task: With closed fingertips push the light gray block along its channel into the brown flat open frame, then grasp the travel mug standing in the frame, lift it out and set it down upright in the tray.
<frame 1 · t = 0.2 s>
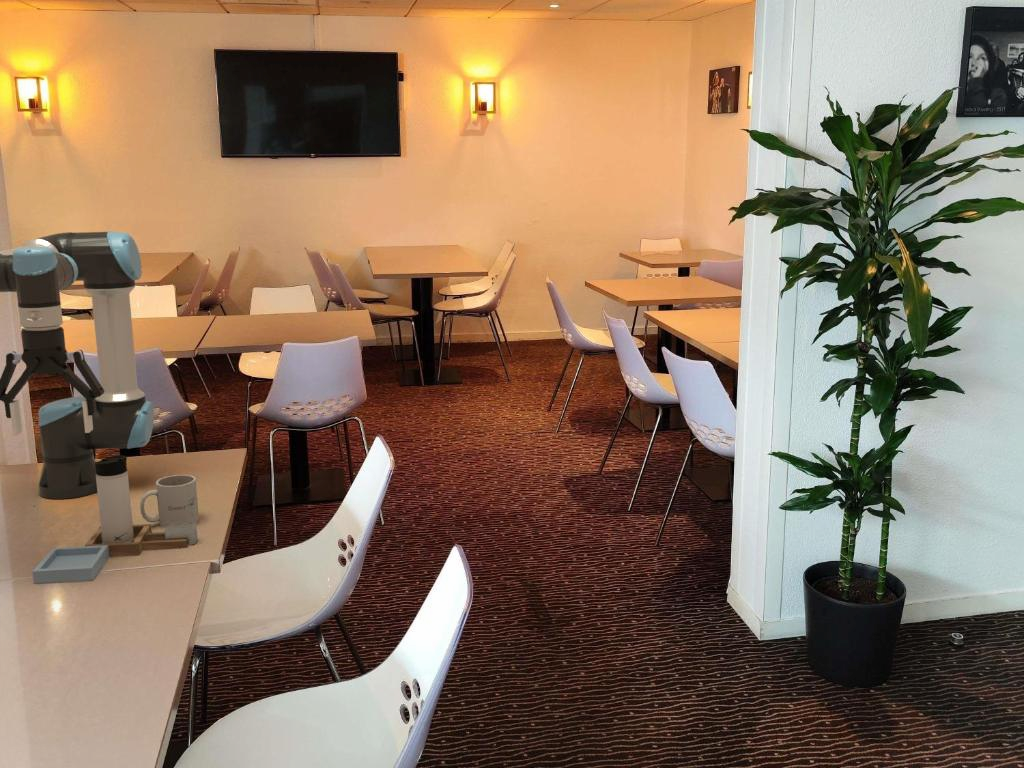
hand: (53, 432, 191), 28 cm above the table, fingers open, 13 cm apart
brown flat open frame: (119, 545, 206), on the table
travel mug: (119, 546, 206), resting in brown flat open frame
tray: (72, 569, 193), on the table
mug: (170, 523, 219), on the table
light gray block: (181, 534, 207), point 2 cm above the table, slide at 0.0 cm
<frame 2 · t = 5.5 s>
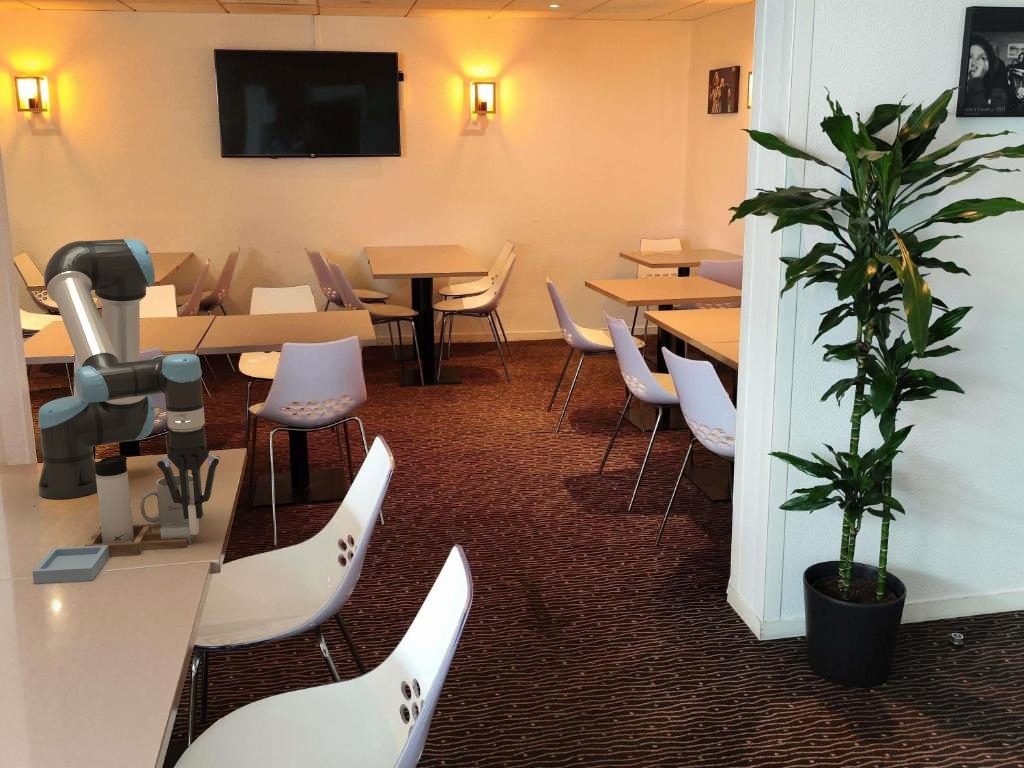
hand: (194, 532, 207), 2 cm above the table, fingers closed
light gray block: (176, 534, 207), point 2 cm above the table, slide at 0.9 cm, touching gripper
everything else where it was.
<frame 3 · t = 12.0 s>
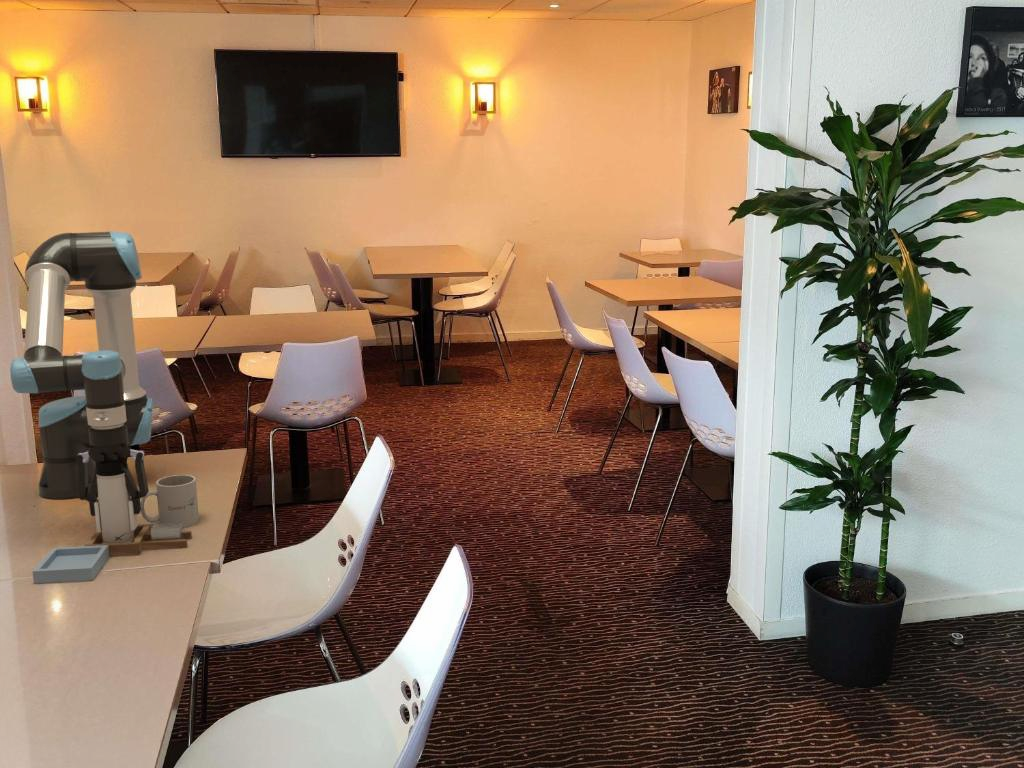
hand: (117, 528, 205), 4 cm above the table, fingers closed on travel mug, 6 cm apart
travel mug: (119, 546, 206), resting in brown flat open frame, touching gripper
light gray block: (167, 534, 206), point 2 cm above the table, slide at 2.9 cm
everything else where it was.
when the fingers open (6 cm above the table, at t = 17.8 s): travel mug stays where it is, resting on tray.
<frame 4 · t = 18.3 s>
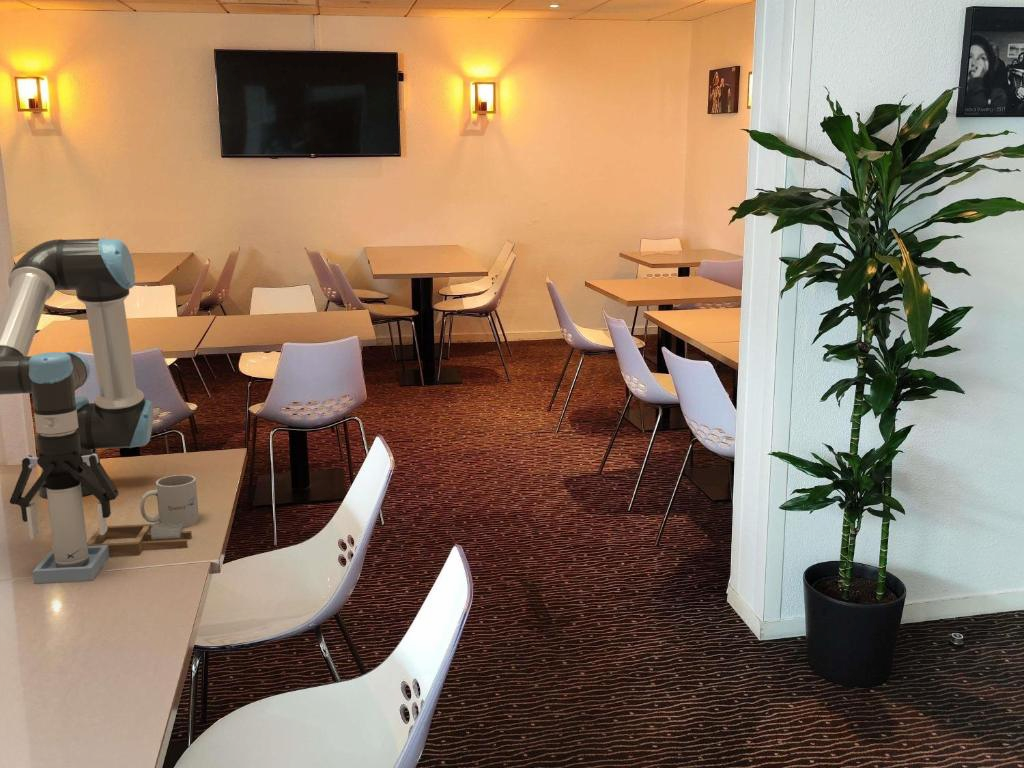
hand: (69, 534, 192), 8 cm above the table, fingers open, 13 cm apart
travel mug: (73, 564, 193), point 1 cm above the table, touching tray
everything else where it was.
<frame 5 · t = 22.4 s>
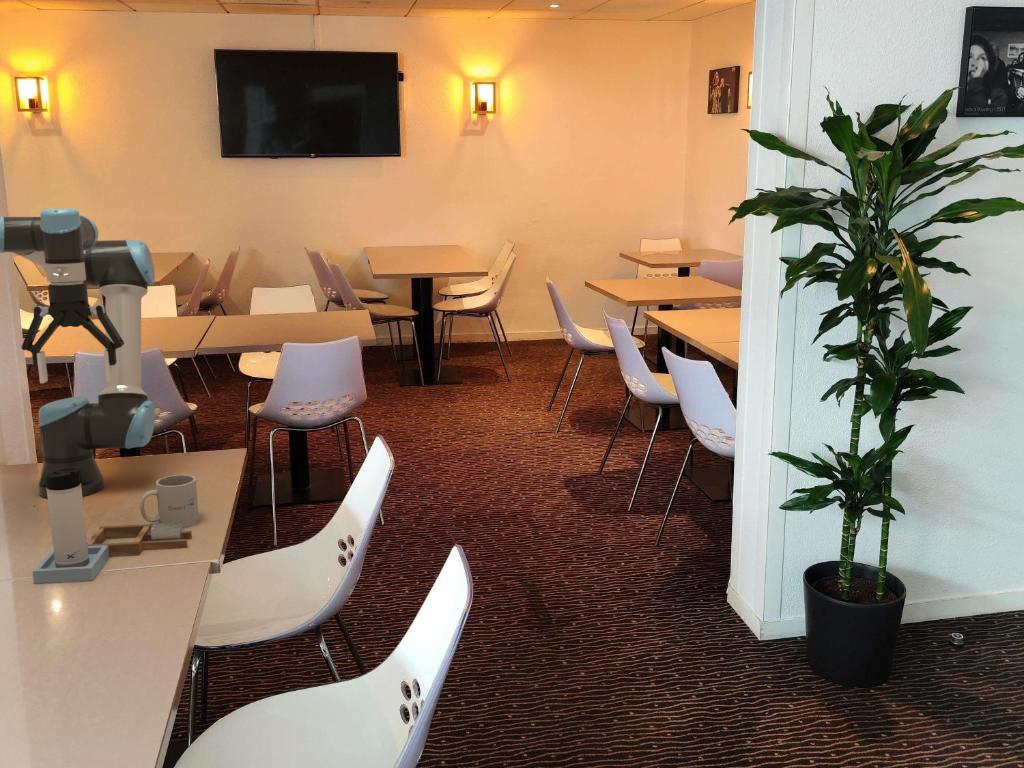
hand: (77, 381, 206), 35 cm above the table, fingers open, 13 cm apart
nothing on the table moved.
at the end: light gray block slide at 2.9 cm; travel mug inside the target area on the tray (0.2 cm from its centre), point 1.0 cm above the tray's base; travel mug tilted 0° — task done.
